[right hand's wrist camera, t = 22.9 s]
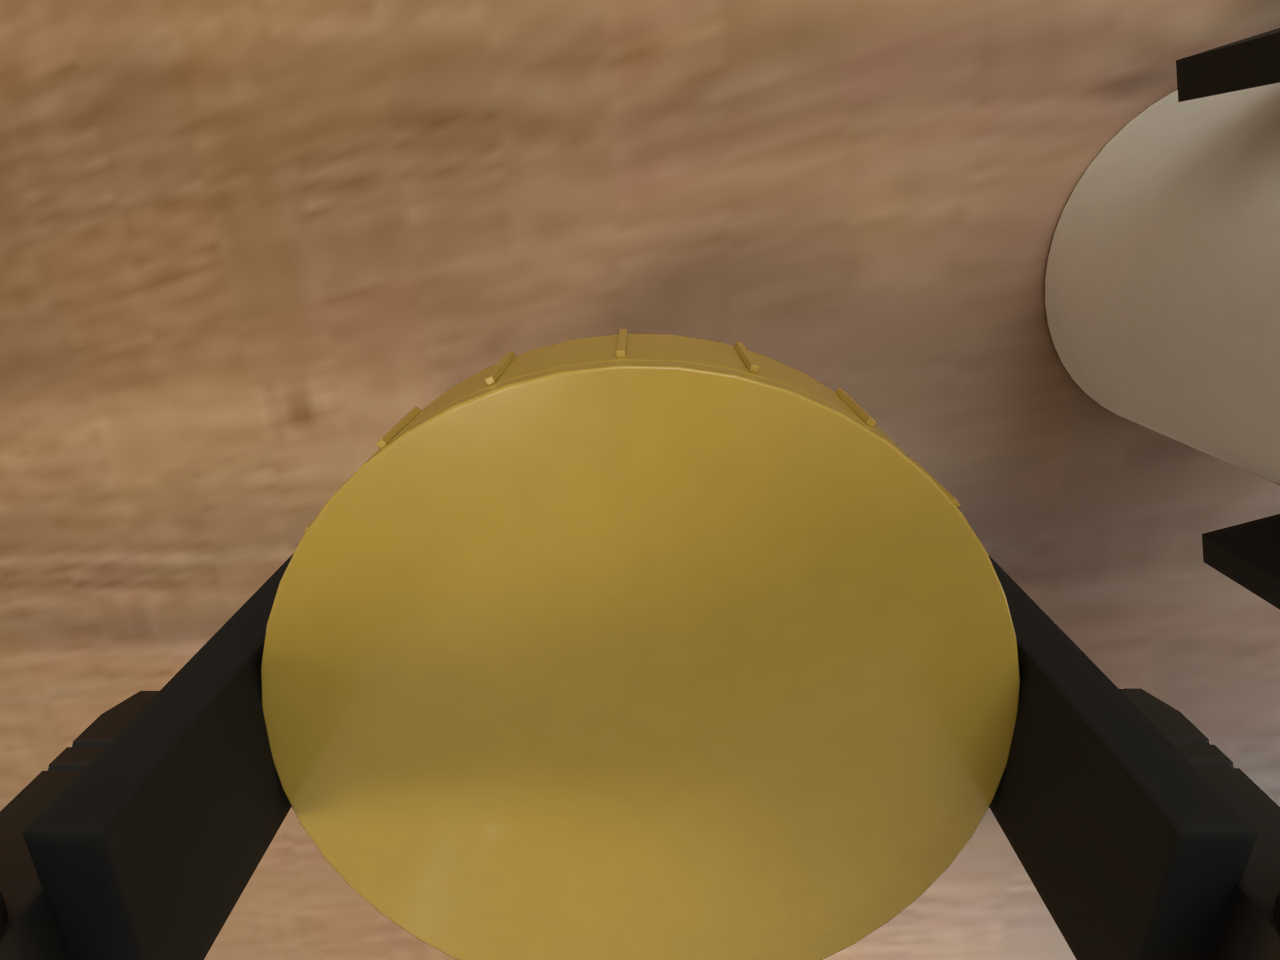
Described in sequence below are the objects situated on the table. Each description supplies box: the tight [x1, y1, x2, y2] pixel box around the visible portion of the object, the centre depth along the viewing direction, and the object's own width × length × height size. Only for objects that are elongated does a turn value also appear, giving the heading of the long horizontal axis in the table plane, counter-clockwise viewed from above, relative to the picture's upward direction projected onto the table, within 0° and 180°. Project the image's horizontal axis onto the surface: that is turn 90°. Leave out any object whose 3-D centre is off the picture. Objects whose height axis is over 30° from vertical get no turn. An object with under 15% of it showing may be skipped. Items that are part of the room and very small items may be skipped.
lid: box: [261, 329, 1020, 960], centre depth 11 cm, size 10×10×2 cm
